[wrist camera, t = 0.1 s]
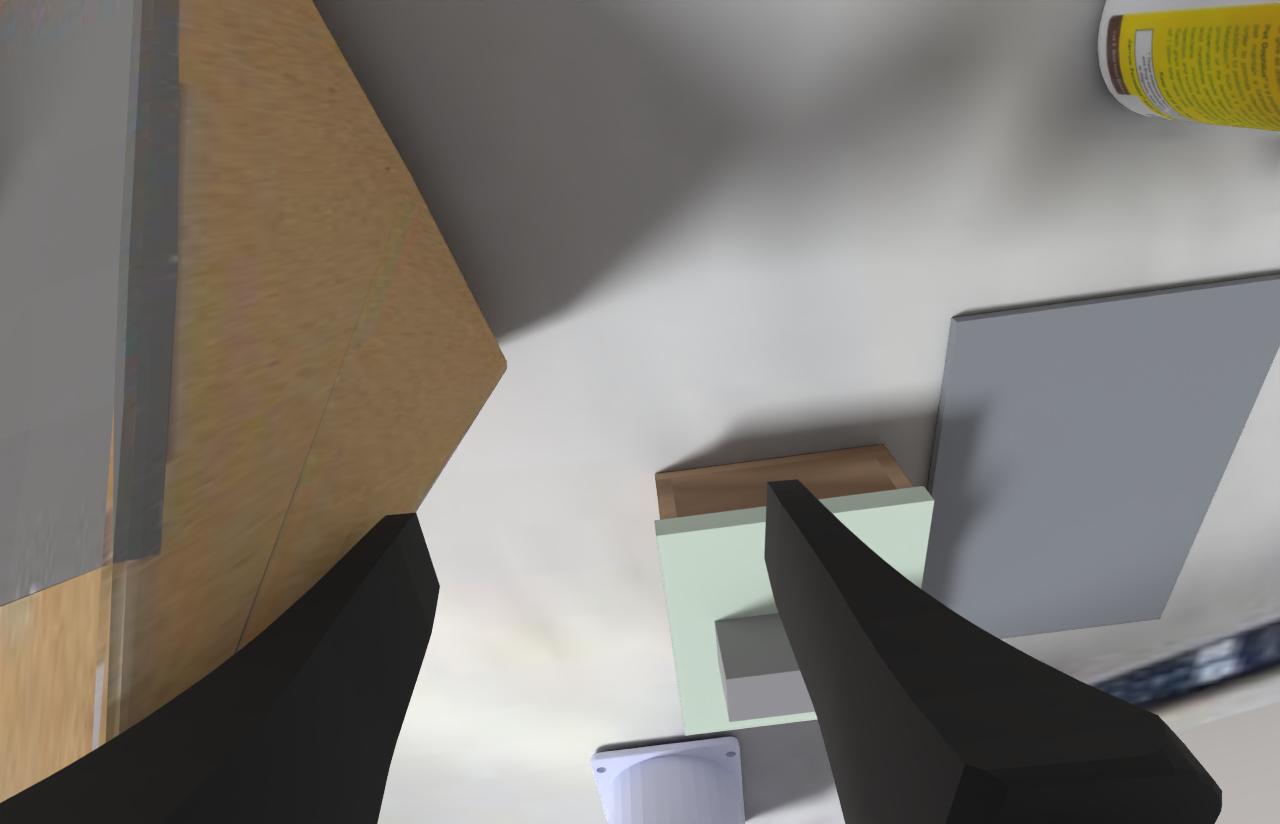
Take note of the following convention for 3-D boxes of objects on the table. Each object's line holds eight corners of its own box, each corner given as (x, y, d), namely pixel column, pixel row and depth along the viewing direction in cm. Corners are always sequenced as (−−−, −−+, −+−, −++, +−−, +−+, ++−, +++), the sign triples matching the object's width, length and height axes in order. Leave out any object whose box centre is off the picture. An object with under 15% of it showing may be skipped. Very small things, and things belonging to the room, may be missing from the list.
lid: (890, 682, 27) (929, 767, 24) (682, 708, 28) (692, 796, 24) (917, 477, 22) (973, 552, 18) (653, 511, 22) (662, 591, 19)
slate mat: (1153, 612, 30) (1159, 618, 29) (905, 643, 30) (909, 649, 30) (1299, 271, 21) (1310, 274, 21) (951, 318, 21) (957, 321, 21)
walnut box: (865, 634, 30) (891, 689, 27) (679, 657, 30) (687, 714, 27) (883, 444, 24) (917, 491, 21) (655, 474, 24) (660, 524, 22)
